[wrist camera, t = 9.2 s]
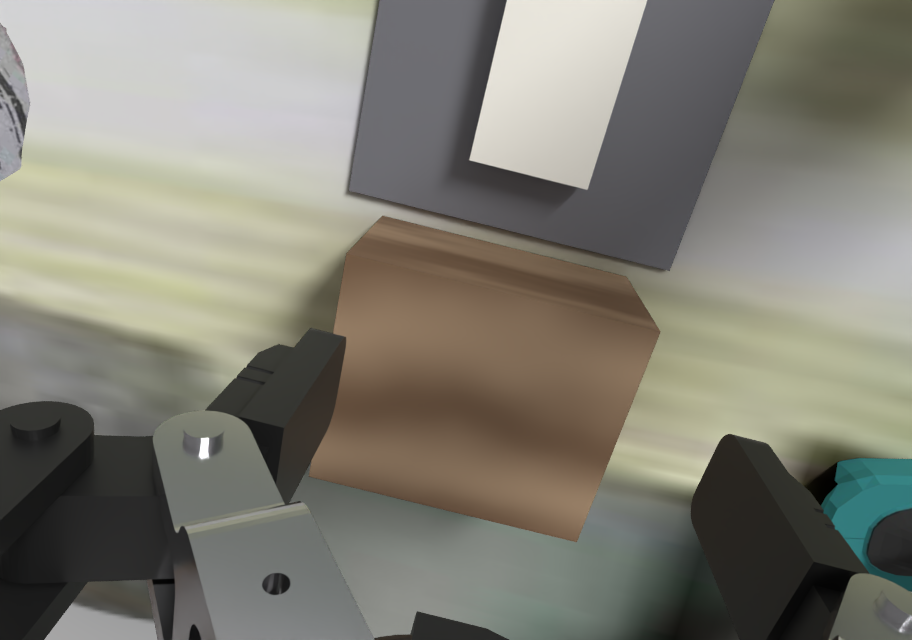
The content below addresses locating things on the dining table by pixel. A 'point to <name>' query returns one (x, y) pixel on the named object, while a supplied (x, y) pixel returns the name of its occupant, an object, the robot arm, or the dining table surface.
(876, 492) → the power drill
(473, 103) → the mat
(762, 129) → the dining table surface
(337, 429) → the walnut block
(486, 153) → the card box
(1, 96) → the decorative wall hanging
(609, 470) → the dining table surface
